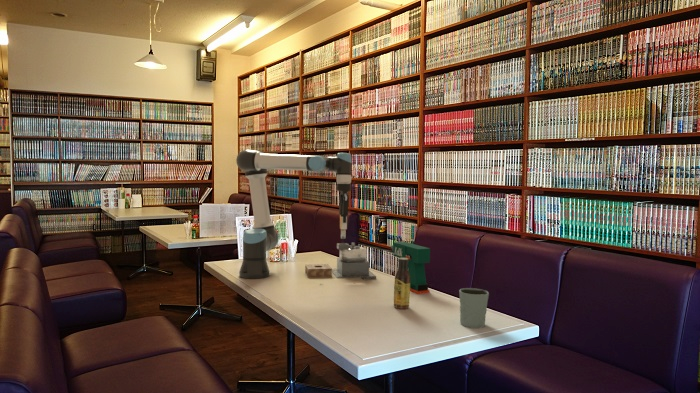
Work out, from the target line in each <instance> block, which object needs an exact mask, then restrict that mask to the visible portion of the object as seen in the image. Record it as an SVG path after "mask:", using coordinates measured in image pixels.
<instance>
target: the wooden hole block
mask: <svg viewBox="0 0 700 393" xmlns="http://www.w3.org/2000/svg"><path fill="white" fill-rule="evenodd" d="M304 268H305V269H304V272H305V274H306V276H307V278H321V277H322V278H326V277H327V278H330V277H332V276H333V273H332V269H333V268H332V267H331V265H329V263H321V264H319V263H317V264H316V263H315V264H313V263H312V264H310V263H309V264H305V267H304Z"/></svg>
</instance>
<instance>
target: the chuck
mask: <svg viewBox="0 0 700 393" xmlns="http://www.w3.org/2000/svg"><path fill="white" fill-rule="evenodd" d="M336 249H337V250H339V254H338V255H339V257H338V258H339V260H341V261H346V262H362V261H366V260H367V254H368V253H367V248H366V247H363V246H360V245H356V243H355V242H351V245H349V243H347V242H341V243H340V242H339V243H338V242H337V243H336Z"/></svg>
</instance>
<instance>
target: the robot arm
mask: <svg viewBox="0 0 700 393" xmlns="http://www.w3.org/2000/svg"><path fill="white" fill-rule="evenodd" d="M235 159H236V160H235V161H236V162H235V163H236V165H237V168H238V169H240V170H241V171H242V172H244V175H245V178H246V179H248V184H249V190H250V198H251V206H252V211H253V221H254V225H253V226H252V228H249V229H246V230H244V232H243V233H242V234H243V237H242V263H241V266H240V269H239V273H238V274H239V275H238V276H239V277H240V278H242V279H253V280H254V279H264V278H267V277H269V276H270V269H269V265H268V262H267V252H269V251H271V250H273V249H274V248H275V247H277V245H278V243H279V240H280V238H279V237H280V236H279V233H278V231H277V230H276V229H275V224H274V223H273V222H272V221H271V220H272V219H271V212H270V206H269V199H268V190H267V183H266V177H267V176H268V170H287V171H288V170H289V171H306V172H310V171H311V172H321V173H322V172H336V191H337V192H340V193H339V196H338V198H339V199H338V200H339V202H338V204H339V206H338V209H339V210H338V213H339V216H340V215H341V229H346V230H348V216H349V199H350V197H349V194H348V192H351V191H352V184H351V183H352V179H353V176H352V165H353V161H352V154H351V153H349V152H348V153H347V152H338V153H336V156H322V155H306V154H305V155H303V154H302V155H301V154H278V153H264V152H262V151H260V150H257V149H254V150H253V149H243V150H241V151H240V152H238V154H237V155H236V158H235ZM341 229H340V230H341Z"/></svg>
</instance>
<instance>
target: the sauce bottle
mask: <svg viewBox="0 0 700 393" xmlns="http://www.w3.org/2000/svg"><path fill="white" fill-rule="evenodd" d="M397 262H398V267H397V271H396V274H395V275H394V284H393V285H394V287H393V288H394V289H393V307H394V308H395V309H396V308H397V309H399V310H405V309H406V310H407V309H409V306H410V293H411V291H410V274H409V271H408V262H409V259H408V258H399V257H398V260H397Z"/></svg>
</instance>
